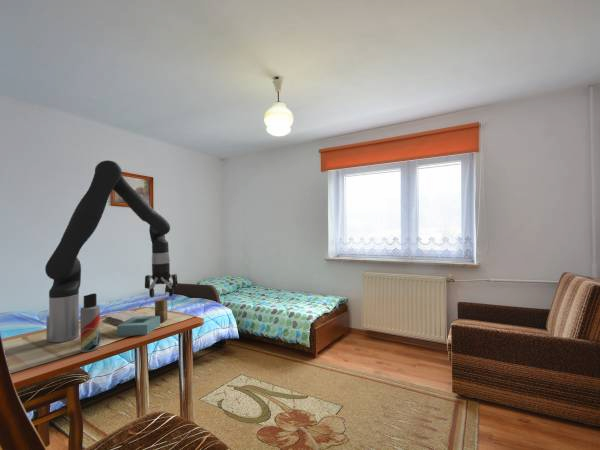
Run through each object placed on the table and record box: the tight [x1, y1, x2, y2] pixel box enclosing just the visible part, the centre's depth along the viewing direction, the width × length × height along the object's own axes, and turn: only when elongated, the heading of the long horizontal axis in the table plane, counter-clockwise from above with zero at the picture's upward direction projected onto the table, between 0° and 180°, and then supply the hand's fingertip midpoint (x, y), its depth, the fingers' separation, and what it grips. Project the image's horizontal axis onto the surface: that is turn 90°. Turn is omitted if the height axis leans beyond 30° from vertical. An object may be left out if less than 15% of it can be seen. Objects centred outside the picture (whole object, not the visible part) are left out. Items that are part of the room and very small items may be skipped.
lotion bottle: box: [79, 292, 101, 353], centre depth 104 cm, size 6×6×20 cm
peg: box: [154, 298, 168, 323], centre depth 136 cm, size 4×4×10 cm
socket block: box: [116, 315, 161, 337], centre depth 124 cm, size 12×12×4 cm
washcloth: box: [105, 309, 148, 325], centre depth 140 cm, size 12×18×3 cm, turn 59°
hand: (161, 296), depth 136 cm, fingers open, 8 cm apart
